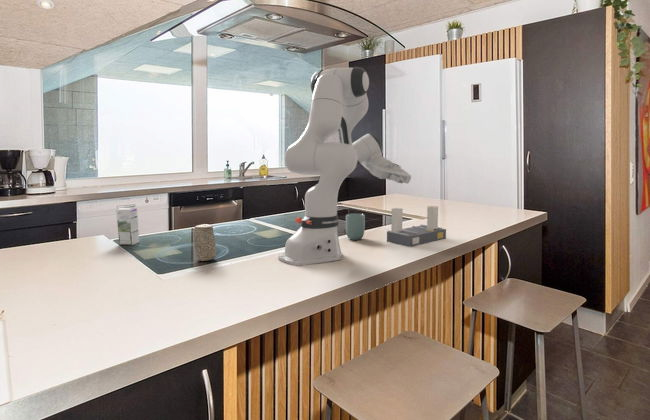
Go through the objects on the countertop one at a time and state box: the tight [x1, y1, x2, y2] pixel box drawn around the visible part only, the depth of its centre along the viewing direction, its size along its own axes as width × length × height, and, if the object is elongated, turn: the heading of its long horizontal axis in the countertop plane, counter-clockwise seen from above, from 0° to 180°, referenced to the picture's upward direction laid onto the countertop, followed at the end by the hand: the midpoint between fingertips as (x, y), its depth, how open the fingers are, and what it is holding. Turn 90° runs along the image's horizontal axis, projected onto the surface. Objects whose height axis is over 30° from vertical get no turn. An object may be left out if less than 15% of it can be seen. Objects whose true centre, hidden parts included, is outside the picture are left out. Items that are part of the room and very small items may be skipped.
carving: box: [193, 223, 217, 262], centre depth 144 cm, size 6×8×12 cm
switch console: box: [386, 224, 447, 248], centre depth 172 cm, size 22×12×4 cm, turn 128°
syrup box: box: [115, 206, 140, 246], centre depth 170 cm, size 6×6×14 cm
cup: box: [345, 213, 366, 241], centre depth 175 cm, size 8×8×10 cm
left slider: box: [390, 207, 403, 232], centre depth 169 cm, size 3×3×9 cm
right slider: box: [426, 205, 439, 229], centre depth 174 cm, size 3×3×9 cm
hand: (400, 181), depth 179 cm, fingers closed
